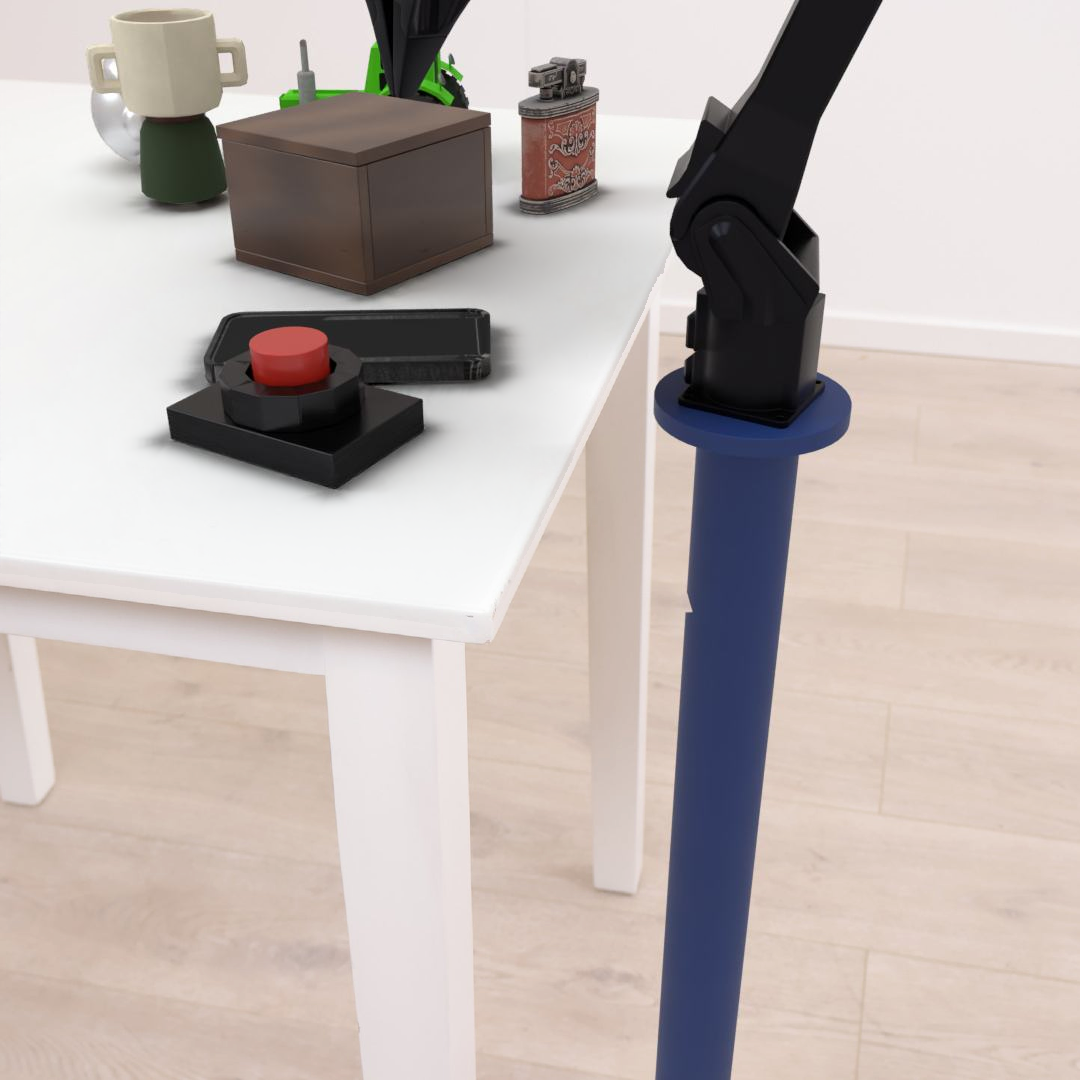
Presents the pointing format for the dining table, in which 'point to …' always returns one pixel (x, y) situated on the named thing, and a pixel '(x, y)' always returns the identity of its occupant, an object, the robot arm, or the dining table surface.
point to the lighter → (558, 137)
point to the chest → (361, 211)
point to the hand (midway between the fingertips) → (402, 96)
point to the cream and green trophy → (171, 95)
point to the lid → (354, 127)
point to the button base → (299, 420)
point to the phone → (375, 340)
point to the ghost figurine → (116, 120)
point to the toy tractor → (383, 83)
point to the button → (289, 356)
